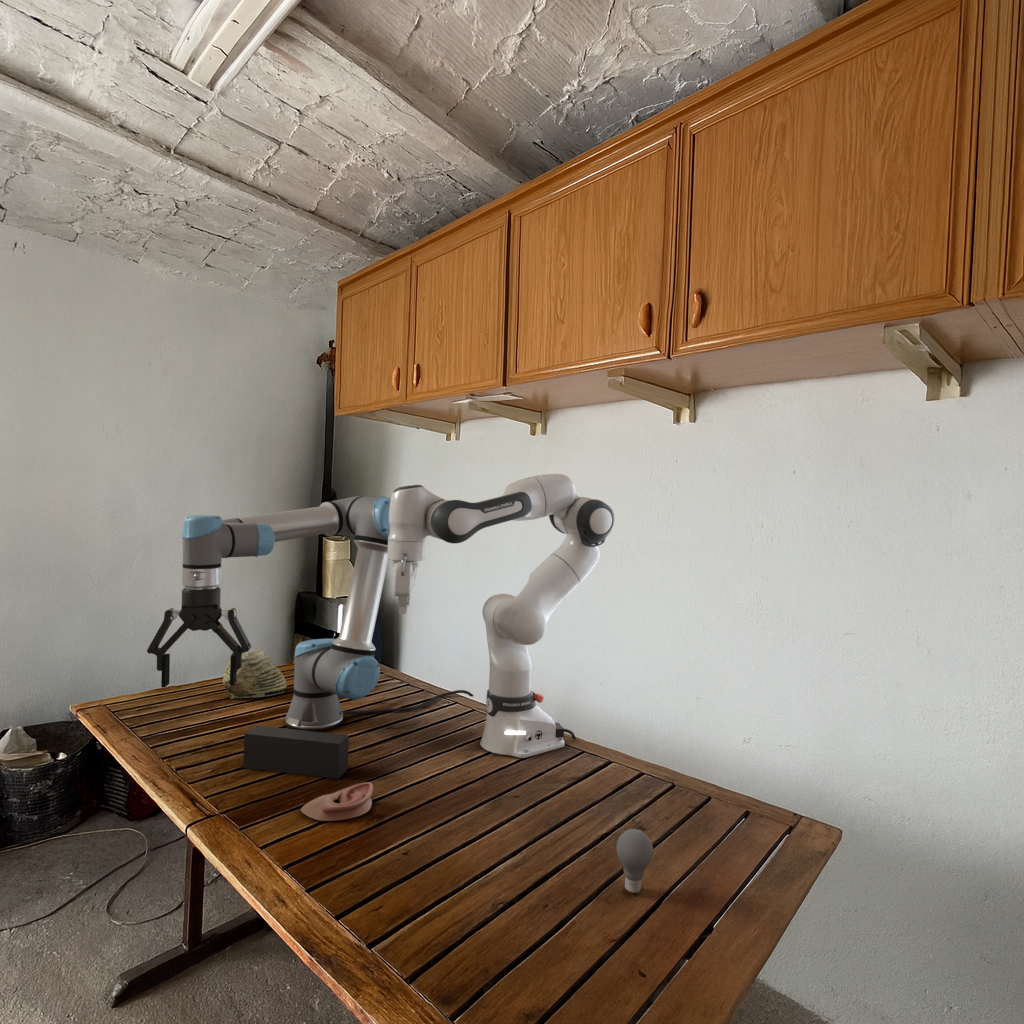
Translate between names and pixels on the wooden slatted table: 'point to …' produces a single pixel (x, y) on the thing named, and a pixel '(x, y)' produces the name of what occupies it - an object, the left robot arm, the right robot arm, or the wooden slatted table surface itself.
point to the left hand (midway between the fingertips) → (199, 684)
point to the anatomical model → (341, 804)
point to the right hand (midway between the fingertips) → (404, 609)
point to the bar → (296, 751)
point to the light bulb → (634, 857)
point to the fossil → (255, 676)
